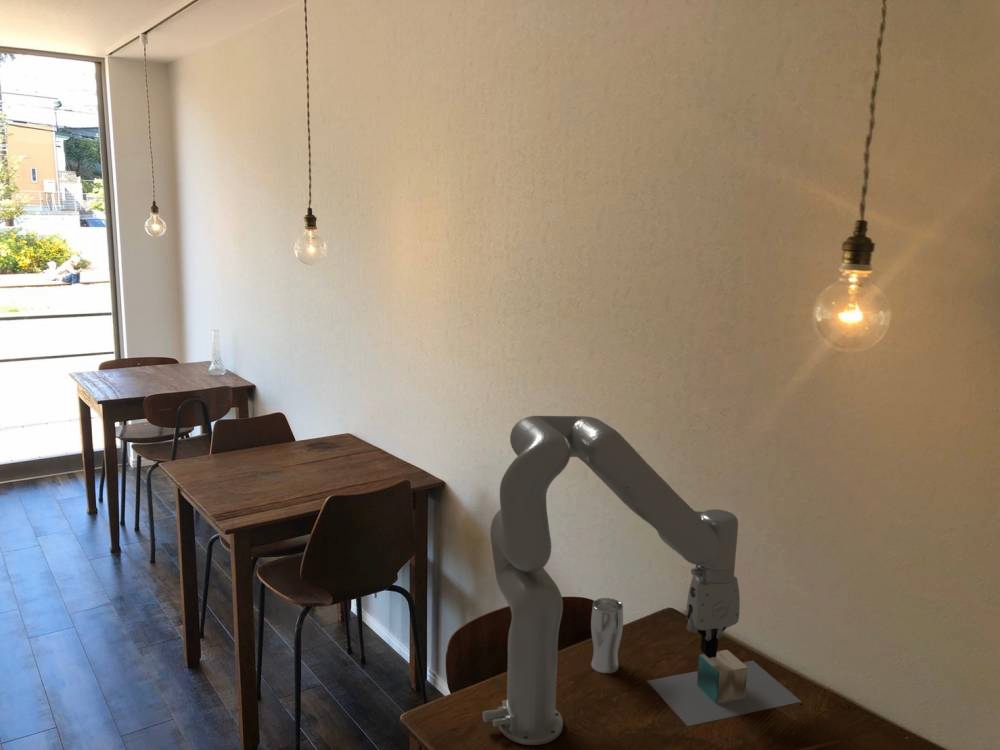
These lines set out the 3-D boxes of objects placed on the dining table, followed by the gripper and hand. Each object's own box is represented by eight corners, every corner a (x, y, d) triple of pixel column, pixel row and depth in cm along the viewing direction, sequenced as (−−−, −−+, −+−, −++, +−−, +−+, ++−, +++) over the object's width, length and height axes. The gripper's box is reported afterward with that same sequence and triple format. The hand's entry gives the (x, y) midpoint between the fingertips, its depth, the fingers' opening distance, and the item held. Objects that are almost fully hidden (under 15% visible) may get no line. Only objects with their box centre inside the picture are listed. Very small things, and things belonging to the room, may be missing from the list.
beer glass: (627, 670, 171) (630, 607, 168) (603, 680, 167) (606, 615, 164) (606, 655, 176) (609, 594, 173) (582, 664, 172) (585, 602, 170)
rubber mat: (687, 728, 151) (687, 726, 151) (646, 682, 166) (646, 680, 166) (801, 703, 160) (801, 701, 160) (752, 662, 175) (753, 660, 175)
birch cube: (718, 672, 157) (747, 667, 159) (699, 654, 163) (727, 649, 166) (715, 704, 158) (744, 698, 161) (696, 684, 165) (724, 679, 167)
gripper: (693, 584, 150) (686, 670, 154) (757, 574, 155) (750, 658, 159) (672, 568, 157) (667, 650, 161) (735, 559, 162) (728, 639, 166)
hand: (708, 654), depth 160 cm, fingers closed
